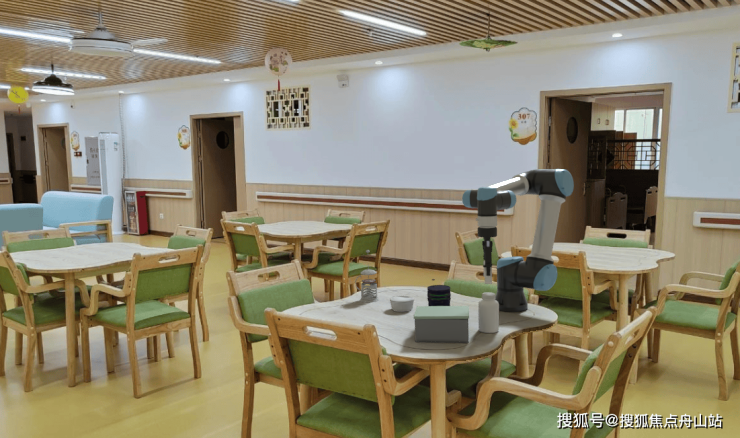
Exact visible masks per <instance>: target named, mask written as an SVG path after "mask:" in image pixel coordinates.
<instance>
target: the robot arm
mask: <svg viewBox="0 0 740 438" xmlns="http://www.w3.org/2000/svg"><path fill="white" fill-rule="evenodd" d="M574 185H575V183H574V177H573V176H572V174H571V172H570V171H569V170H568V169H561V168H554V169H552V168H548V169H547V168H546V169H540V168H538V169H536V168H535V169H531V170H528V171H524V172H521V173H519V174H516V175H514V176H512V178H510V179H506V180H504V181H500V182H497V183H494V184H491V185H488V186H481V187H478V188H477V189H467V190H465V191H464V192H463V194H462V196H461V199H462V200H461V201H462V205H463V206H464V207H465V208H470V209H477V218H475V221H476V222H477V226H478V227H477V237H479V238H482V239H483V240H481V241H482V242H481V245H482V250H483V251H482V252H483V256H482V257H483V265H482V267H483V277H484V285H492V284H493V263H492V262H493V260H492V259H493V255H492V253H493V246H494V242H493V240H491V238H496V237H497V236H498V227H497V226H498V211H500V210H509V209H512V208H514V207H515V206H516V203H517V196H524V195H536V196H537V195H538V199H539V200H540V204H539V205H540V206H539V210H538V215H537V221H536V225H535V229H534V230H535V231H534V235H533V241H532V245H531V246H532V247H531V252H530V254H528V255H526V259H525V260H524V256H509V257H508V256H507V257H501V258H499V259H498V260H497V262H496V282H497V283H496V287H497V288H496V290H497V291H496V293H495V300H496V301H498V303H499V312H507V313H508V312H509V313H510V312H511V313H512V312H513V313H515V312H523V311H526V310H528V308H529V306H528V304H529V303H528V300H527V297H526V295H525V291H524V288H525V289H530V290H531V289H532V290H534V291H535V290H536V291H543V292H544V291H545V292H546V291H549V290H550V289H552V288H553V286H554V285H555V284H556V281H557V278H558V268H557V266H556V265H554V262H555V261H554V260H553V258H552V253H553V249H554V244H555V239H556V232H557V228H558V223H559V218H560V211H561V207H562V204H563V203H565V202H566V199H567V197H570V196H572V194H573V191H574V188H575V187H574Z"/></svg>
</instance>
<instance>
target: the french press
mask: <svg viewBox="0 0 740 438" xmlns="http://www.w3.org/2000/svg"><path fill="white" fill-rule="evenodd" d="M365 253H367V254H369V253H370V250H369V249H366V250H365ZM377 273H378V272H377V271H376V270H374V269H370V268H369V265H367V269H364V270H362V271H360V275H357V277H355V281H354V283H355V284H354V285H355V287H356V289H357V290H358V291H360V294H361V297H360V299H359V301H360V302H361V303H376V302H378V301H380V298H379V297H378V284H377V282H376V281H377V280H376V279H374V278H370V276H372V275H376V274H377ZM362 275H363V276H368V277H367V279H362V280H361V282H362V283H361V284H360V287H361V288H359V287H358V286H357V281H358V279H359V277H360V278H362Z"/></svg>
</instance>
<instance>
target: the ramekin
mask: <svg viewBox="0 0 740 438" xmlns="http://www.w3.org/2000/svg"><path fill="white" fill-rule="evenodd" d="M414 301H415V298H414V297H413V296H409V295H396V296H392V297H390V298H389V302H390V308H391V310H392V311H394V312H398V313H404V312H405V313H406V312H410V311H412V310H413V308H414Z"/></svg>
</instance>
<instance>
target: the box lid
mask: <svg viewBox="0 0 740 438" xmlns="http://www.w3.org/2000/svg"><path fill="white" fill-rule="evenodd" d="M415 319H468V320H469V319H470V305H450V306H428V305H426V306H424V305H420V306H418V305H417V306H416V308H415V311H414V314H413V320H415Z"/></svg>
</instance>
